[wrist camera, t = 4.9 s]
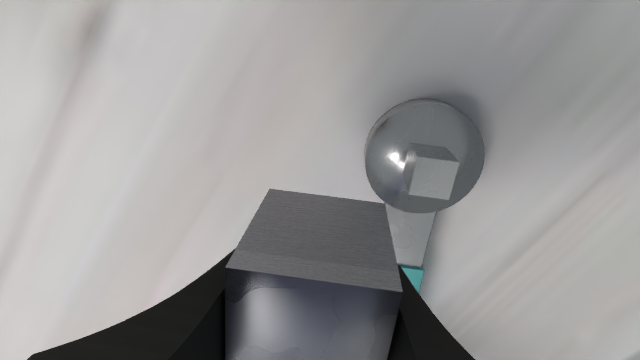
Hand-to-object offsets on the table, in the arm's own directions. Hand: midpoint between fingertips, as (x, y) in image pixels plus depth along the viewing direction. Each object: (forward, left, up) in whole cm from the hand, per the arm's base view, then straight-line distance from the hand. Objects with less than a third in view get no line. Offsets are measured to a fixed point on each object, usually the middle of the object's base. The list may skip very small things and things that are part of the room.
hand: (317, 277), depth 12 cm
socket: (0, 0, -2) cm, 2 cm away
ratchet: (-3, -5, -10) cm, 11 cm away
